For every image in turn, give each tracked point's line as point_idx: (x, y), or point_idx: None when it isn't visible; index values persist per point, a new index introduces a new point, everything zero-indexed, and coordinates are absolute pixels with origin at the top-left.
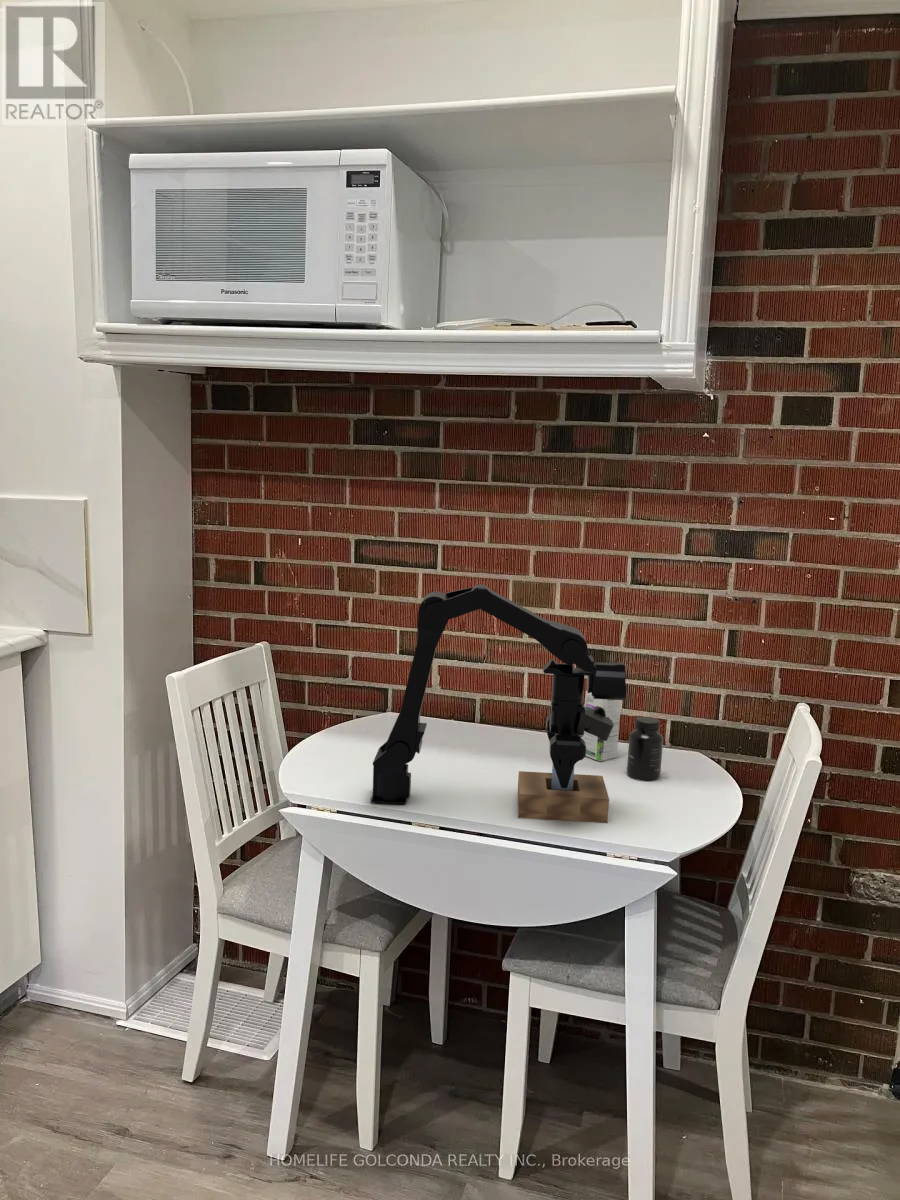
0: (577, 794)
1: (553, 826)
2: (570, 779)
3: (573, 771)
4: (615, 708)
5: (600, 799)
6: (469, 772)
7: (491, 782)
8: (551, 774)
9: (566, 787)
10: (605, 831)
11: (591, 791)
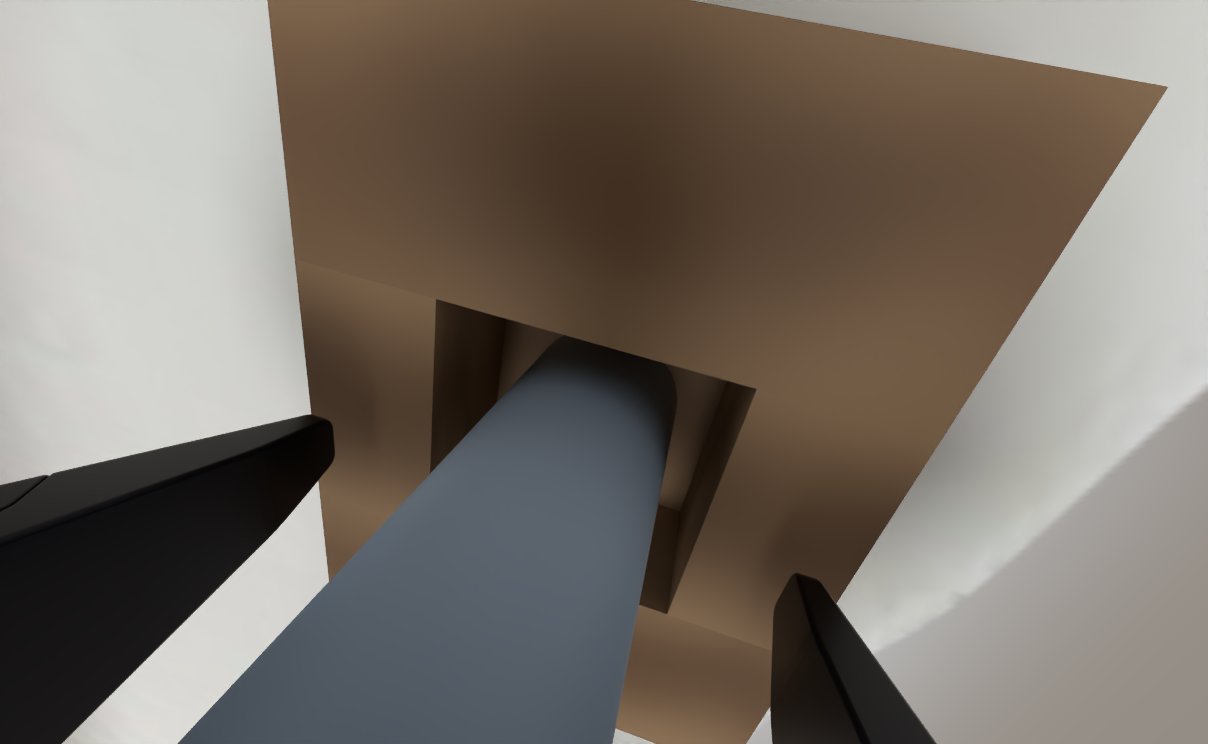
0: (840, 441)
1: (895, 520)
2: (637, 499)
3: (574, 515)
4: None
5: (1067, 220)
6: (232, 592)
7: (311, 563)
8: (348, 466)
9: (817, 586)
10: (1160, 201)
11: (789, 262)
